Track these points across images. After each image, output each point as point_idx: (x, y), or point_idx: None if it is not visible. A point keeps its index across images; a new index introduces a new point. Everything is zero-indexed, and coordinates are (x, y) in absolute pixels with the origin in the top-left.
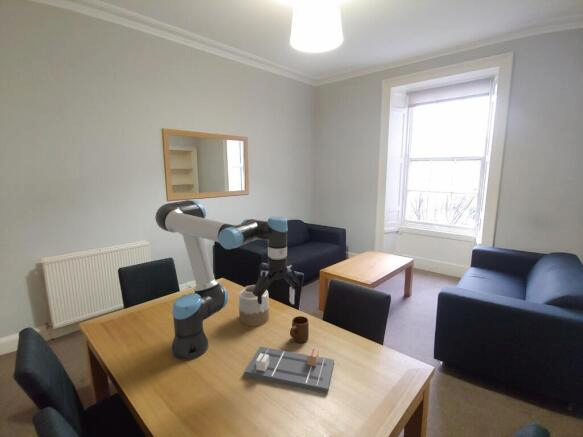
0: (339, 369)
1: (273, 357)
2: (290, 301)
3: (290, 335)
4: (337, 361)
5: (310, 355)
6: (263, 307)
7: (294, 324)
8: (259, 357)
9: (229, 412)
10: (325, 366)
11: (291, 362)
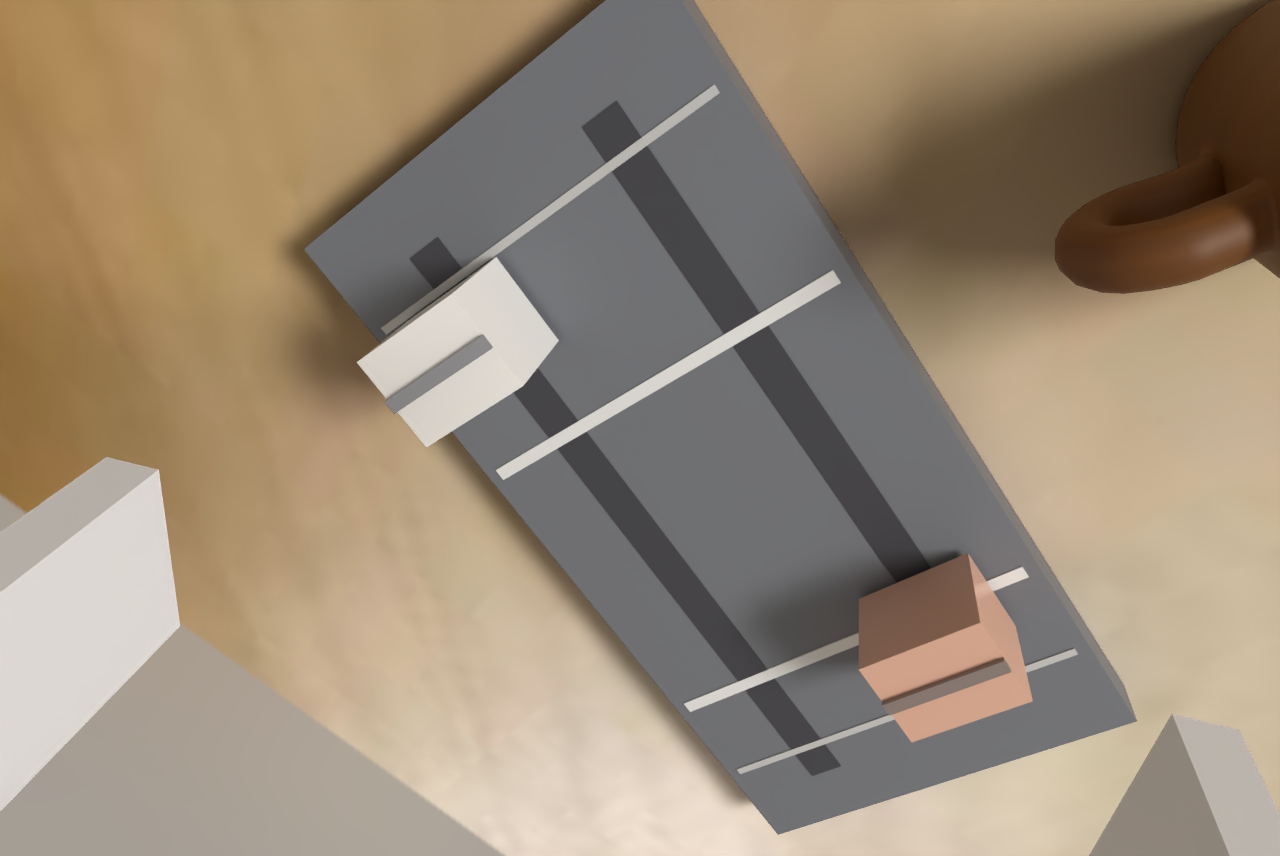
0: (1089, 746)
1: (665, 276)
2: (1155, 792)
3: (1063, 225)
4: (1187, 687)
5: (887, 691)
6: (64, 720)
7: None
8: (408, 350)
9: None
10: None
11: (767, 469)
